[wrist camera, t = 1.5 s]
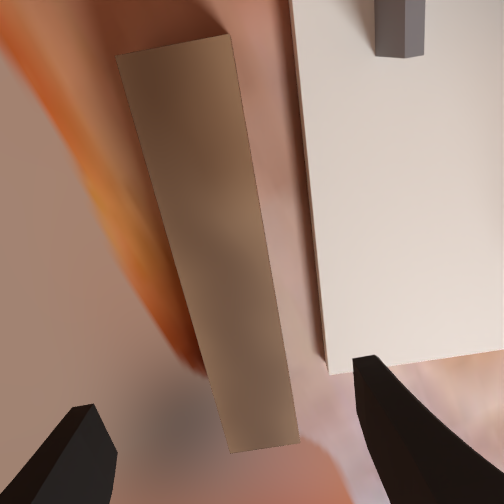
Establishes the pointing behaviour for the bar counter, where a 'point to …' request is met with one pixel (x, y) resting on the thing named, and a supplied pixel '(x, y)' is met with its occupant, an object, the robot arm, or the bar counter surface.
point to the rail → (215, 229)
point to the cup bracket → (404, 174)
